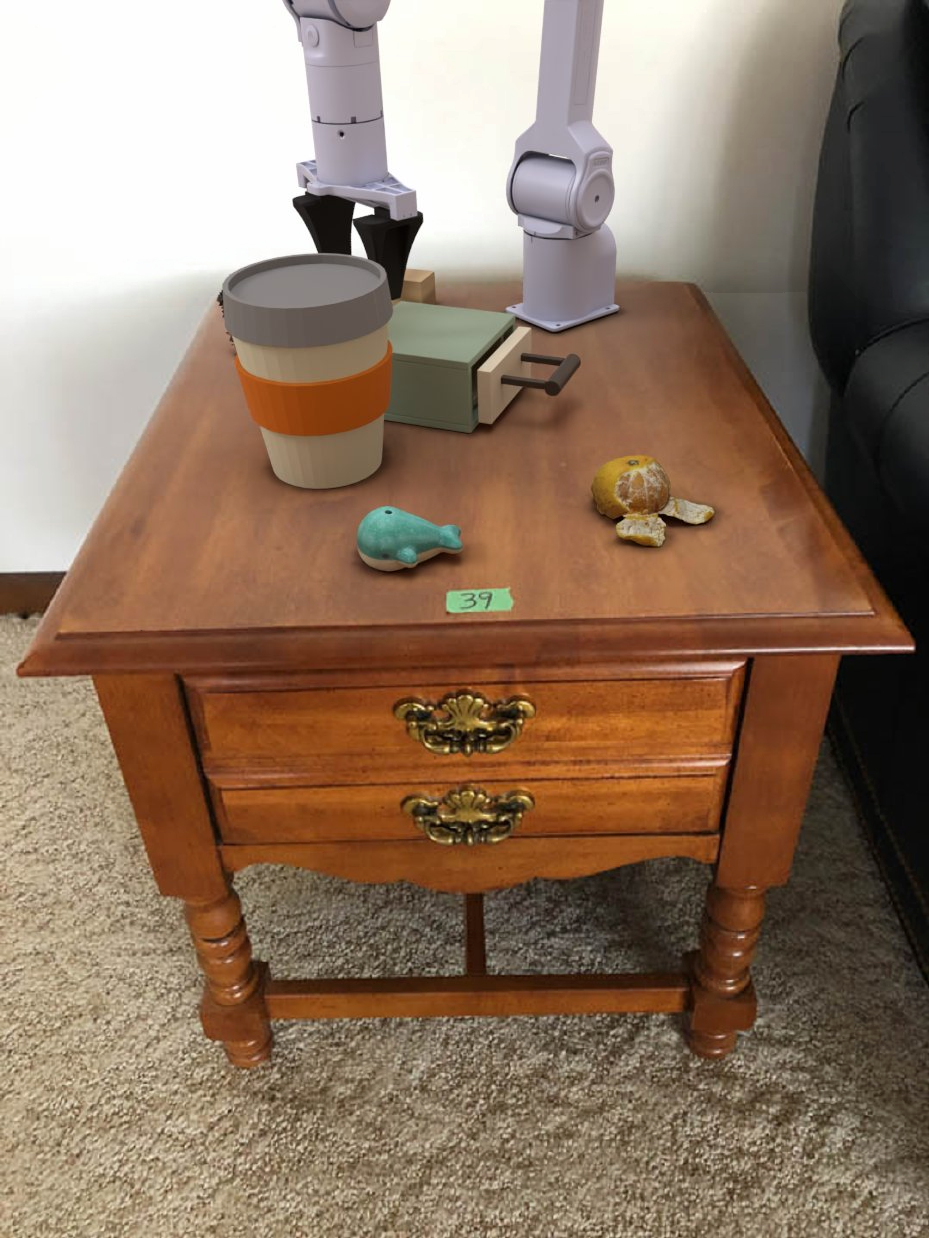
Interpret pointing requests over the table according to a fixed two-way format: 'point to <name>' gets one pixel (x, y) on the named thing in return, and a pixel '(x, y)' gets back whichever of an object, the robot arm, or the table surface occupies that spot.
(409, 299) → the block
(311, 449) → the reusable coffee cup
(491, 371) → the drawer
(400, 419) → the cabinet
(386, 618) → the table surface
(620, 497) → the fruit
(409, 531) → the whale figurine
